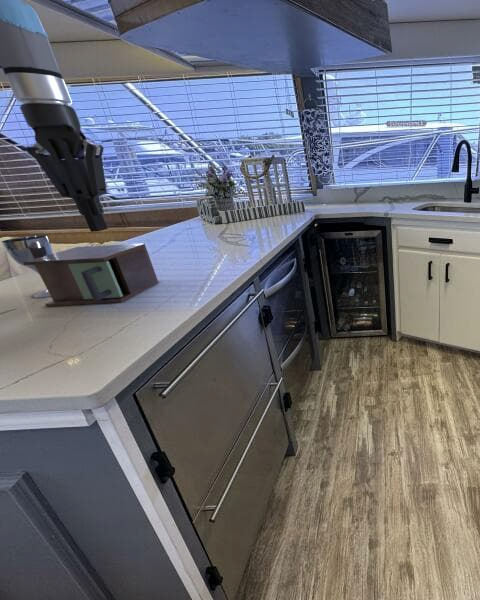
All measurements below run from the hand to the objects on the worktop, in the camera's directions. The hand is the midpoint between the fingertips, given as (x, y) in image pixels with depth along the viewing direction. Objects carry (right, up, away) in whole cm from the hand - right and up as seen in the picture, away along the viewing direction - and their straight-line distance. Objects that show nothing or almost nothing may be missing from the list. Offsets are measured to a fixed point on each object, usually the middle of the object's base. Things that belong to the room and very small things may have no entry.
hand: (99, 230), depth 70 cm
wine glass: (-30, -13, +18) cm, 38 cm away
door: (-8, -16, +8) cm, 19 cm away
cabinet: (-13, -13, +16) cm, 25 cm away
